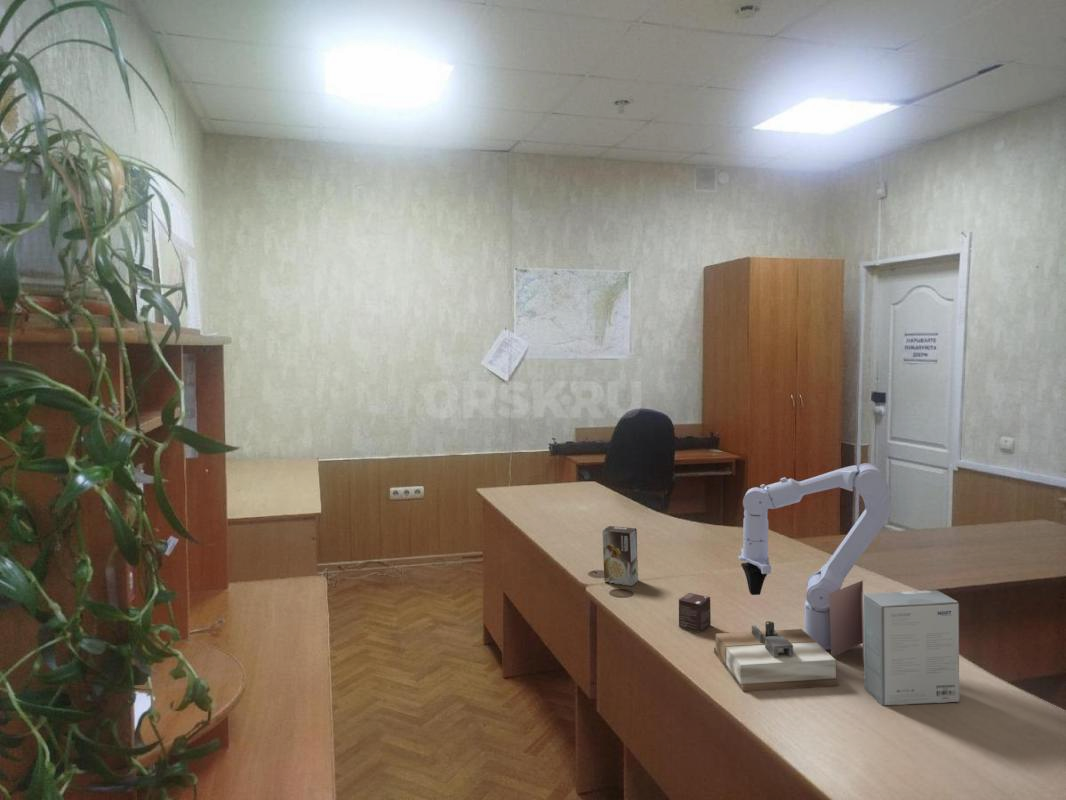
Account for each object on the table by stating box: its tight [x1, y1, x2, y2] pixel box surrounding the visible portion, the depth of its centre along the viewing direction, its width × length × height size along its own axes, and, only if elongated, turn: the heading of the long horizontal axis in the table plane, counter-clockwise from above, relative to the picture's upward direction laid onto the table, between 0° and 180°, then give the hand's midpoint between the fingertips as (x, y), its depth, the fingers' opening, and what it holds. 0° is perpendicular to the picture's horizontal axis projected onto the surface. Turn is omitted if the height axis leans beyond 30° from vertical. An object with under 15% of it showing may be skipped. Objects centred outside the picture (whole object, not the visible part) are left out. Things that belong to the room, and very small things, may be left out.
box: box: [678, 592, 712, 633], centre depth 180 cm, size 6×6×7 cm
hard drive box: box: [863, 589, 960, 706], centre depth 142 cm, size 16×8×20 cm, turn 92°
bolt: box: [765, 621, 784, 653], centre depth 155 cm, size 7×2×4 cm, turn 3°
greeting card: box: [829, 579, 865, 665], centre depth 160 cm, size 11×7×15 cm, turn 119°
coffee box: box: [602, 525, 639, 587], centre depth 216 cm, size 9×6×16 cm
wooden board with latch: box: [713, 625, 839, 692], centre depth 156 cm, size 19×20×8 cm
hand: (754, 593), depth 173 cm, fingers closed
